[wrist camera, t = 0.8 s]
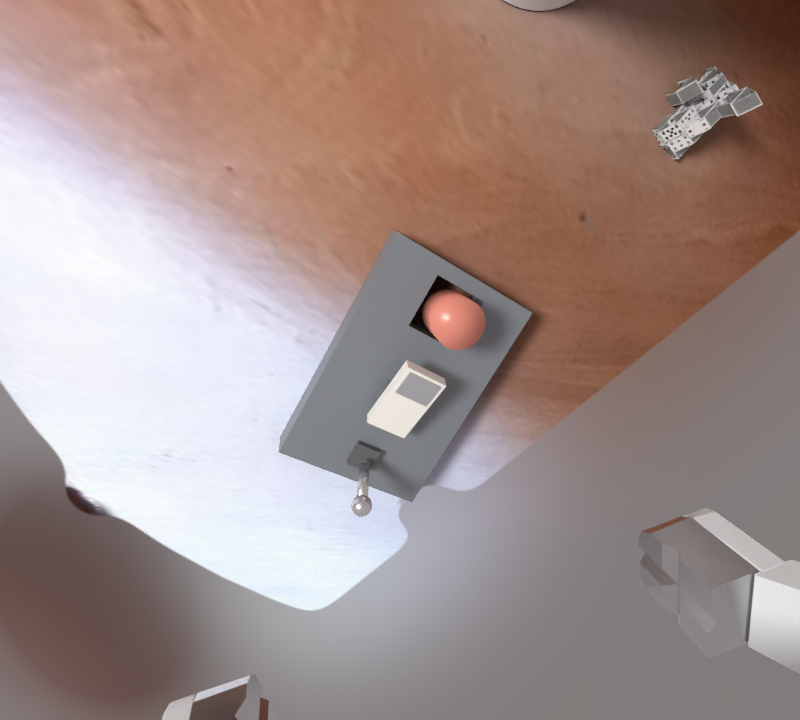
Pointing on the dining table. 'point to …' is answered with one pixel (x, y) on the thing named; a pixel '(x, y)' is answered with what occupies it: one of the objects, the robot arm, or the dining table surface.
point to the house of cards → (701, 109)
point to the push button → (453, 319)
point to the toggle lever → (362, 491)
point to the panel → (379, 363)
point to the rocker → (406, 399)
